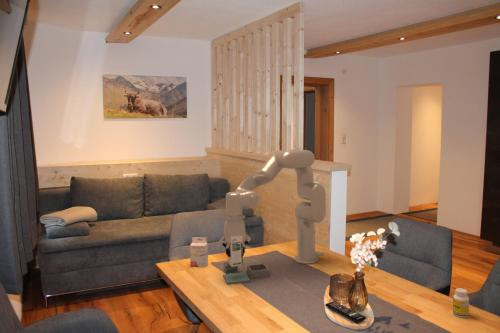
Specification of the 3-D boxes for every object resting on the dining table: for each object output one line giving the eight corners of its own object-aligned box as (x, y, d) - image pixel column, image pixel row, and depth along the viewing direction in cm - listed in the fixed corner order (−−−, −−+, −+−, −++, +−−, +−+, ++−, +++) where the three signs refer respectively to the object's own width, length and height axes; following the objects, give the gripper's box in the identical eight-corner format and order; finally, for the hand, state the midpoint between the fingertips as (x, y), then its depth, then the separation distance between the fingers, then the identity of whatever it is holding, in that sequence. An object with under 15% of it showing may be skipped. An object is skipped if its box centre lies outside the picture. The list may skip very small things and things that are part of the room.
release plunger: (233, 268, 218) (233, 257, 217) (235, 270, 214) (235, 259, 213) (226, 269, 217) (225, 258, 216) (227, 271, 213) (227, 260, 212)
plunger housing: (235, 268, 219) (235, 261, 219) (237, 272, 213) (237, 265, 213) (223, 270, 218) (223, 262, 217) (226, 274, 212) (225, 266, 211)
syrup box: (231, 267, 200) (231, 236, 199) (228, 263, 206) (227, 233, 204) (243, 265, 202) (242, 235, 201) (239, 261, 208) (238, 232, 206)
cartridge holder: (264, 270, 216) (264, 263, 216) (269, 276, 207) (269, 269, 207) (246, 272, 214) (246, 265, 214) (251, 278, 205) (251, 271, 205)
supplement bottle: (449, 312, 165) (450, 287, 164) (463, 311, 165) (464, 286, 164) (457, 318, 160) (458, 293, 158) (471, 317, 160) (472, 292, 159)
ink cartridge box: (190, 267, 224) (189, 239, 222) (192, 263, 229) (191, 236, 227) (206, 267, 223) (205, 239, 221) (208, 263, 228) (207, 236, 226)
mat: (244, 273, 212) (244, 271, 211) (250, 281, 201) (250, 279, 201) (222, 276, 209) (222, 274, 209) (227, 284, 198) (227, 282, 198)
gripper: (250, 215, 207) (251, 251, 209) (214, 217, 203) (216, 254, 205) (254, 218, 200) (255, 256, 202) (217, 221, 196) (218, 259, 198)
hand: (235, 255), depth 204 cm, fingers closed on syrup box, 6 cm apart
